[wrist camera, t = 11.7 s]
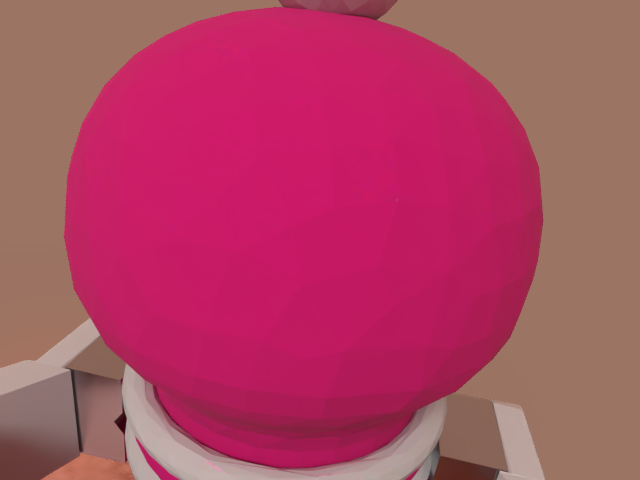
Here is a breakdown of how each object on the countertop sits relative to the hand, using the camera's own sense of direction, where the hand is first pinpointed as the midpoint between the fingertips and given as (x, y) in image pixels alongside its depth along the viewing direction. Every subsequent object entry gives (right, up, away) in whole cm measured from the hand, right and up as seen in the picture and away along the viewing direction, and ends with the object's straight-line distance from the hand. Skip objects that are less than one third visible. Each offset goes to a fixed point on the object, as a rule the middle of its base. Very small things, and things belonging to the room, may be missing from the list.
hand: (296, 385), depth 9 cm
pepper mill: (-2, -12, +4) cm, 12 cm away
